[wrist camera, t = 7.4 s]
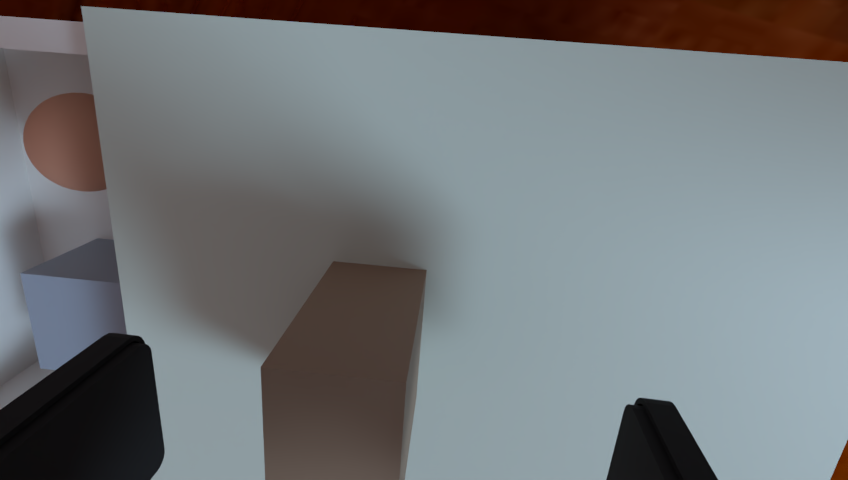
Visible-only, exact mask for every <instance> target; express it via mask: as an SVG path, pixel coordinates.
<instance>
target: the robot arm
mask: <svg viewBox="0 0 848 480" xmlns="http://www.w3.org/2000/svg"><path fill="white" fill-rule="evenodd" d="M164 454H165V448H164V441H163V433H162V426H161V418H160V411H159V403H158V396H157V388H156V381H155V373H154V366H153V359H152V351H151V348H150V347H149V345H147V344H145V342H144V340H143V339H142V337H140V336H136V335H128V334H120V333H108V334H106V335H104V336H102V337H101V338H100V339H98V340H97V341H95V342H94V343H93V344H91V345H90V346H88V347H87V348H86V349H84V350H83V351H81V352H80V353H79V354H77V355H76V356H74V357H73V358H72V359H70V360H69V361H68V362H66V363H65V364H63V365H62V366H61V367H59V368H58V369H56V370H55V371H54V372H52V373H51V374H49V375H48V376H47V377H45V378H44V379H42V380H41V381H40V382H38V383H37V384H35V385H34V386H33V387H31V388H30V389H28V390H27V391H26V392H24V393H23V394H21V395H20V396H19V397H17V398H16V399H14V400H13V401H12V402H10V403H9V404H7V405H6V406H5V407H3V408H2V409H0V480H151V478H152V477H153V476H154V475H155V473H156V472H157V471H158V469H159V468H160V466H161V464H162V462H163V459H164ZM606 480H718V479H717V477H716V475H715V473H714V472H713V470H712V468H711V467H710V465H709V463H708V461H707V460H706V458H705V456H704V454H703V453H702V451H701V449H700V448H699V446H698V444H697V442H696V441H695V439H694V437H693V435H692V434H691V432H690V430H689V429H688V427H687V425H686V423H685V422H684V420H683V418H682V417H681V415H680V413H679V411H678V410H677V408H676V406H675V405H674V404H673V403H672V402H670V401H664V400H656V399H648V398H638V399H637V400H636V401H635V404H634V405H631V404H628V405H626V407H625V409H624V412H623V416H622V420H621V424H620V428H619V432H618V436H617V439H616V443H615V447H614V451H613V455H612V459H611V463H610V467H609V471H608V475H607V479H606Z"/></svg>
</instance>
